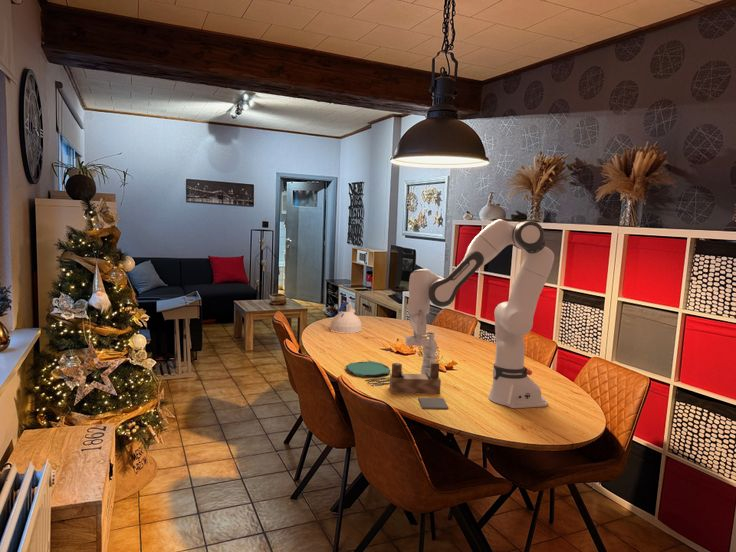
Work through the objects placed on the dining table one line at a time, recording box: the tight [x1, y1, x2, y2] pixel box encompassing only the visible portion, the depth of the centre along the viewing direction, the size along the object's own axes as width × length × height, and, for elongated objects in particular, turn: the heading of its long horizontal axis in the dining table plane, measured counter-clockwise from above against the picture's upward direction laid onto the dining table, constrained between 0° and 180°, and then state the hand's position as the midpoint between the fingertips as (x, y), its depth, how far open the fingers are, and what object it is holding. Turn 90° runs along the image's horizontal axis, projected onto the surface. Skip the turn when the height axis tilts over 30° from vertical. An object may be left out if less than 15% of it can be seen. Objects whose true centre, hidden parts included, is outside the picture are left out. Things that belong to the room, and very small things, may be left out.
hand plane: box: [389, 361, 442, 395], centre depth 208 cm, size 20×7×12 cm, turn 93°
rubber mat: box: [417, 397, 450, 410], centre depth 194 cm, size 10×10×1 cm
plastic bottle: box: [420, 332, 438, 374], centre depth 227 cm, size 6×7×20 cm
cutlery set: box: [345, 360, 391, 387], centre depth 228 cm, size 20×30×2 cm, turn 23°
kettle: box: [329, 301, 363, 334], centre depth 314 cm, size 20×21×18 cm
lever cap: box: [404, 335, 429, 347], centre depth 206 cm, size 9×4×4 cm, turn 93°
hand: (417, 341), depth 206 cm, fingers closed on lever cap, 4 cm apart
